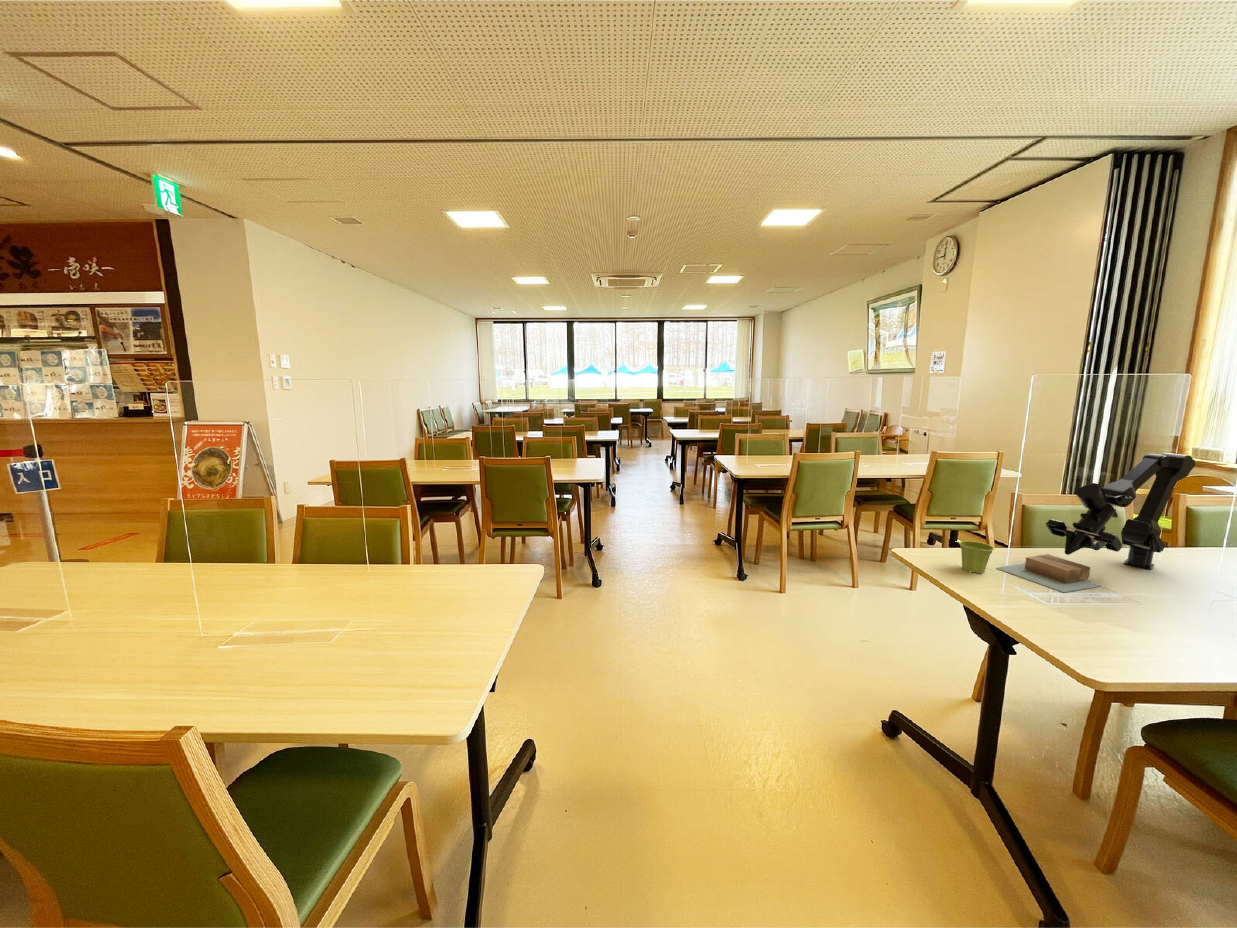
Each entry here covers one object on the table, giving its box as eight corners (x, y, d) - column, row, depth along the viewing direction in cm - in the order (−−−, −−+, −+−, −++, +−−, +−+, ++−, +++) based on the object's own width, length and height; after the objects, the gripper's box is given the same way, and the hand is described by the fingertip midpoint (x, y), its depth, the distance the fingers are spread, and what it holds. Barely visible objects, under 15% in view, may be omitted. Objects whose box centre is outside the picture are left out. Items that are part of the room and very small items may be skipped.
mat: (1030, 563, 169) (1030, 562, 169) (1100, 586, 151) (1100, 585, 150) (996, 568, 165) (996, 567, 165) (1063, 592, 146) (1063, 592, 146)
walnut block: (1047, 554, 165) (1026, 557, 162) (1090, 567, 154) (1067, 570, 151) (1046, 566, 166) (1024, 569, 163) (1088, 580, 155) (1065, 583, 152)
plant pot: (967, 563, 170) (970, 539, 168) (997, 573, 161) (1000, 547, 160) (949, 567, 166) (952, 542, 165) (979, 577, 158) (982, 551, 156)
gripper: (1140, 542, 154) (1110, 579, 152) (1072, 525, 171) (1044, 558, 170) (1128, 520, 150) (1097, 558, 149) (1059, 505, 168) (1031, 539, 167)
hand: (1066, 553), depth 159 cm, fingers closed
